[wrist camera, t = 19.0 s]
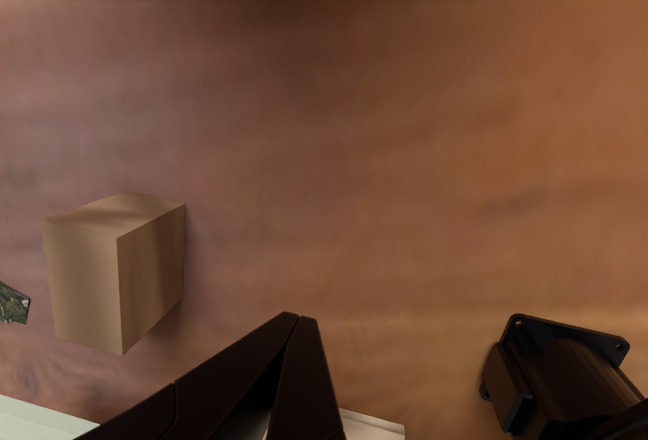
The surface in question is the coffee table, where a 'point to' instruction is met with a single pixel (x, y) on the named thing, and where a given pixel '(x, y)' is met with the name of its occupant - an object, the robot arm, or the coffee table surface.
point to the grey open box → (368, 427)
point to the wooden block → (114, 268)
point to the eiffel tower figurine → (12, 306)
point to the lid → (38, 422)
